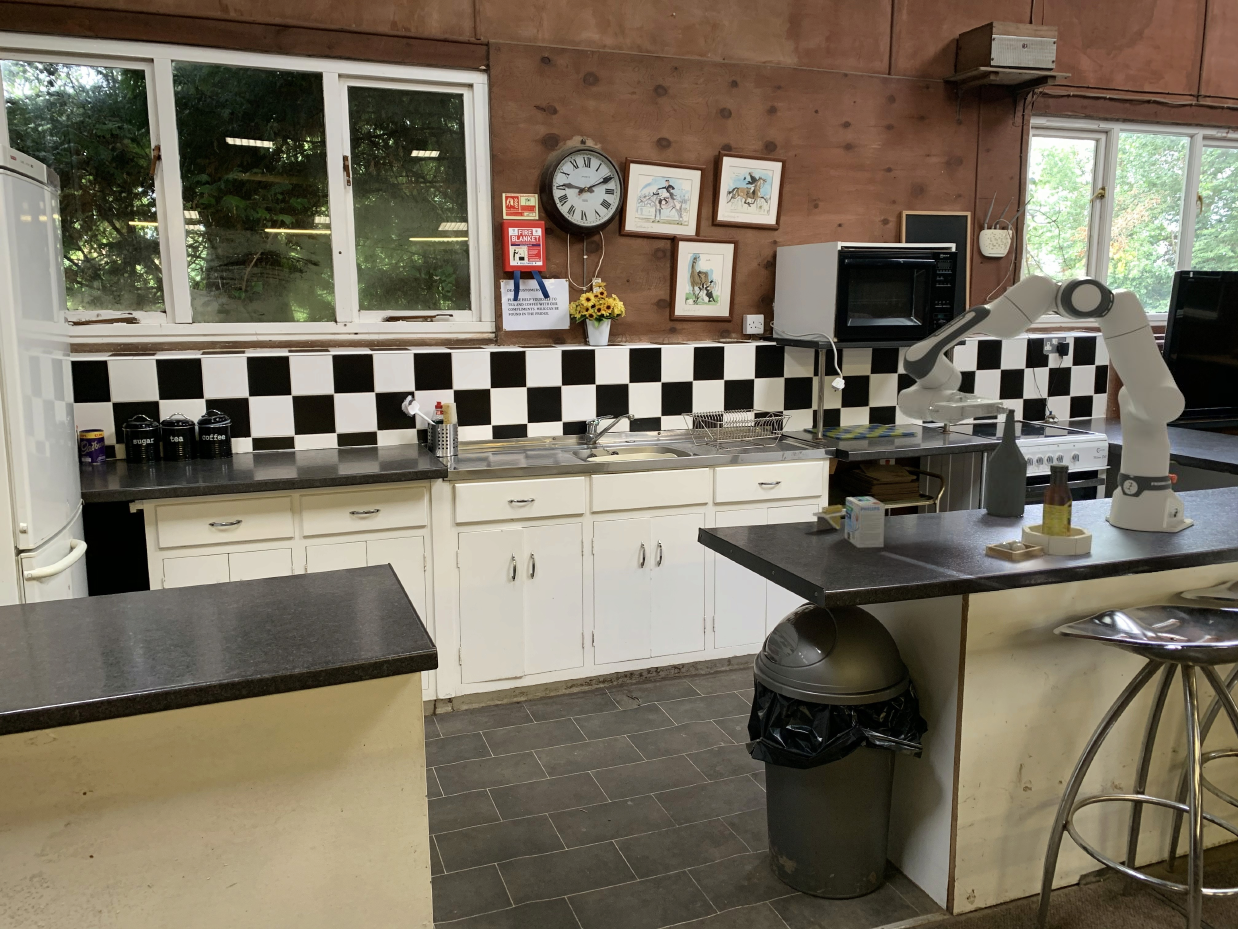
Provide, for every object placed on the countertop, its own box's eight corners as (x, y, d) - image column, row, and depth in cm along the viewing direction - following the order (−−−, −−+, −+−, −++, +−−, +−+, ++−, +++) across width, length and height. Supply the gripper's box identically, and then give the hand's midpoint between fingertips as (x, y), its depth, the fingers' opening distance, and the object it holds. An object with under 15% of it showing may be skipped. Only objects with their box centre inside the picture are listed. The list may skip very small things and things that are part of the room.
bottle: (1031, 516, 262) (1038, 409, 257) (1004, 519, 259) (1010, 411, 254) (1005, 509, 272) (1011, 406, 267) (977, 512, 268) (983, 408, 263)
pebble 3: (1016, 553, 219) (1017, 541, 219) (1028, 556, 216) (1028, 544, 216) (1008, 555, 218) (1009, 543, 217) (1019, 558, 215) (1020, 545, 215)
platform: (871, 531, 248) (872, 507, 247) (819, 539, 240) (820, 514, 239) (841, 522, 259) (841, 499, 258) (789, 530, 250) (790, 506, 249)
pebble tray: (1012, 551, 224) (1013, 540, 224) (1042, 558, 217) (1043, 547, 217) (985, 557, 219) (985, 545, 219) (1014, 565, 212) (1015, 553, 212)
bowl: (1046, 540, 234) (1048, 521, 233) (1101, 553, 222) (1103, 532, 221) (1009, 548, 227) (1010, 528, 226) (1063, 561, 215) (1065, 540, 214)
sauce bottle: (1072, 550, 221) (1078, 467, 217) (1044, 549, 222) (1049, 467, 219) (1065, 544, 227) (1071, 463, 224) (1038, 542, 228) (1043, 462, 225)
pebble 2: (1014, 550, 222) (1015, 538, 222) (1026, 553, 220) (1026, 540, 219) (1006, 552, 221) (1007, 539, 220) (1017, 554, 218) (1018, 542, 218)
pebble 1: (1001, 552, 220) (1002, 540, 220) (1012, 555, 218) (1013, 543, 217) (993, 554, 219) (994, 542, 218) (1004, 557, 216) (1005, 544, 216)
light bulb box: (843, 537, 240) (845, 496, 238) (869, 537, 240) (870, 496, 239) (858, 548, 229) (859, 505, 228) (884, 547, 230) (886, 504, 228)
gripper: (923, 397, 242) (967, 401, 230) (976, 393, 252) (1020, 397, 240) (922, 421, 243) (966, 427, 231) (974, 416, 253) (1019, 421, 241)
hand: (994, 411), depth 236 cm, fingers open, 8 cm apart
